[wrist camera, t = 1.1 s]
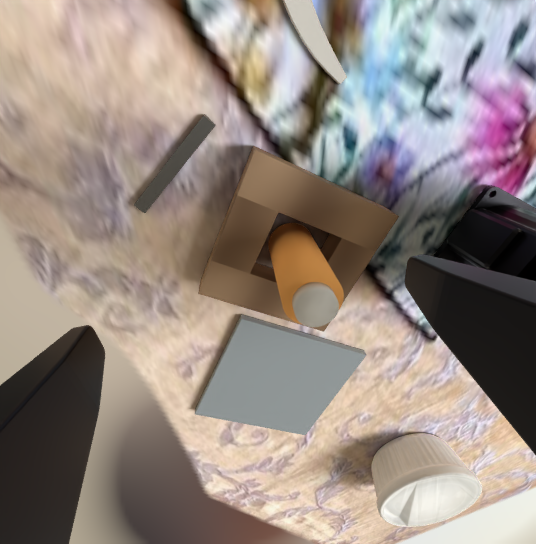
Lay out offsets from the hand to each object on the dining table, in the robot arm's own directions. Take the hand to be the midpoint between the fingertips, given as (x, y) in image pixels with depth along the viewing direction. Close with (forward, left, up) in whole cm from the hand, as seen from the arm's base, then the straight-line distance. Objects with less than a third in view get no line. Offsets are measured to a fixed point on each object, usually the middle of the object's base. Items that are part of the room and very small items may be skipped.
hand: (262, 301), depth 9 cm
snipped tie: (+5, 0, -13) cm, 14 cm away
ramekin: (-30, +22, -13) cm, 40 cm away
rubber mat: (-9, +15, -13) cm, 22 cm away
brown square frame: (-4, +2, -13) cm, 14 cm away
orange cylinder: (-4, +2, -13) cm, 14 cm away
